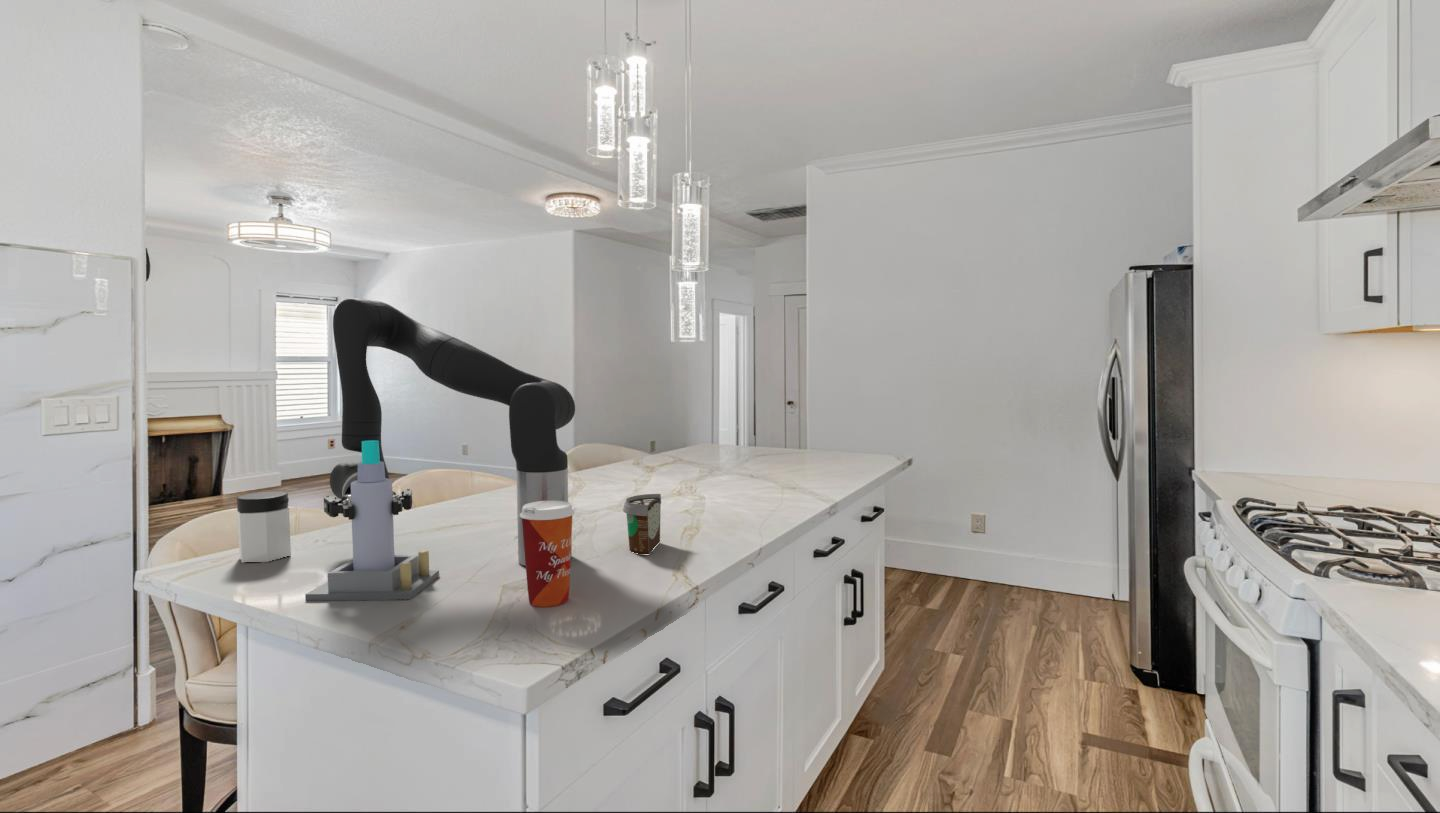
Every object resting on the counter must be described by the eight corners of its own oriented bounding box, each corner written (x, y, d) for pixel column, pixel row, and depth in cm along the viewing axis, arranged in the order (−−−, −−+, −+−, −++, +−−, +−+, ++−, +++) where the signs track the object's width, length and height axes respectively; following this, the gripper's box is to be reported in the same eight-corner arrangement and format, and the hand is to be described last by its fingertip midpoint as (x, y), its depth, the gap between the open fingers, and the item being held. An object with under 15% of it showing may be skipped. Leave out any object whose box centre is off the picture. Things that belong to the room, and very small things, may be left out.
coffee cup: (548, 613, 101) (546, 512, 101) (509, 603, 106) (507, 506, 105) (587, 597, 109) (586, 502, 108) (550, 588, 113) (548, 497, 112)
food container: (632, 540, 144) (632, 492, 143) (661, 541, 143) (661, 493, 142) (615, 556, 132) (614, 504, 131) (647, 557, 131) (646, 505, 130)
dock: (439, 576, 120) (438, 547, 119) (409, 599, 108) (408, 568, 108) (345, 577, 120) (344, 548, 119) (305, 600, 108) (304, 569, 107)
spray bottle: (371, 582, 110) (367, 444, 108) (345, 577, 112) (340, 442, 110) (403, 571, 115) (399, 440, 114) (377, 566, 118) (373, 438, 116)
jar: (294, 558, 131) (291, 495, 131) (242, 566, 126) (239, 501, 125) (287, 548, 138) (284, 489, 137) (237, 556, 133) (234, 494, 132)
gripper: (319, 476, 121) (321, 492, 107) (408, 469, 129) (422, 483, 114) (321, 518, 122) (323, 539, 107) (410, 509, 129) (423, 528, 115)
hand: (374, 510), depth 111 cm, fingers closed on spray bottle, 6 cm apart
